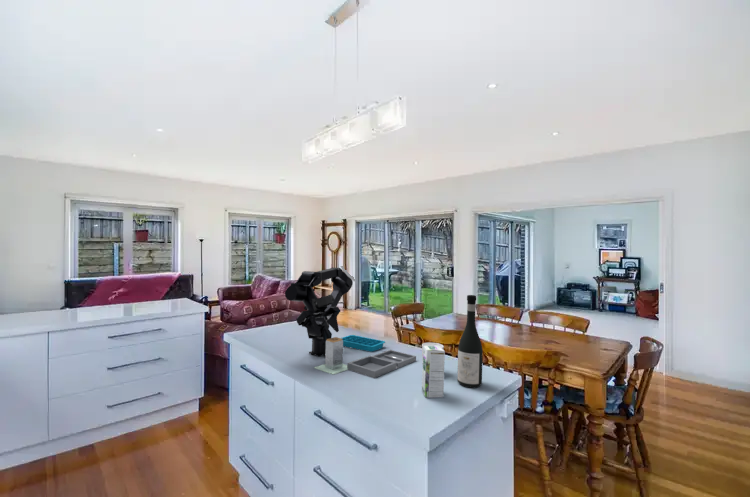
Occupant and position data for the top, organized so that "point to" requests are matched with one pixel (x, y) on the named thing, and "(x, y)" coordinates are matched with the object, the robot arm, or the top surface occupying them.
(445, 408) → the top surface
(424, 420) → the top surface
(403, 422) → the top surface
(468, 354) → the wine bottle
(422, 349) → the white cup
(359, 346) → the ice cube tray
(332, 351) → the block
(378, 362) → the grey compartment tray
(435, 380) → the syrup box
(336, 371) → the mat
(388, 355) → the rod
